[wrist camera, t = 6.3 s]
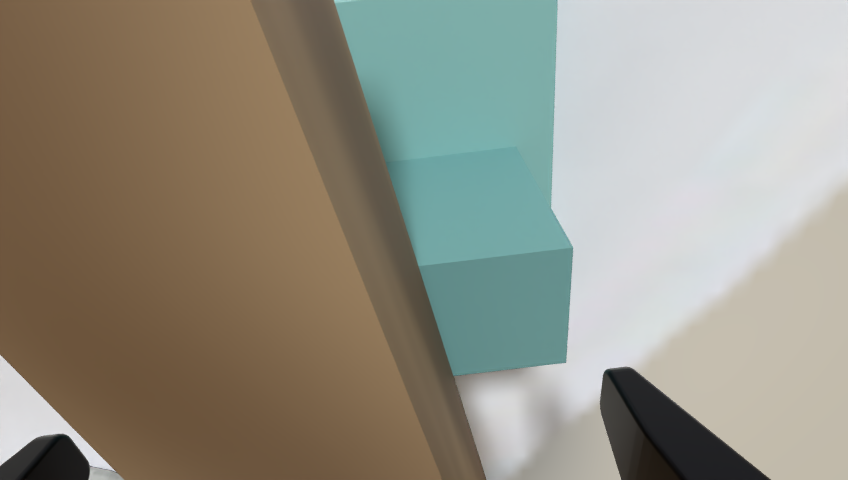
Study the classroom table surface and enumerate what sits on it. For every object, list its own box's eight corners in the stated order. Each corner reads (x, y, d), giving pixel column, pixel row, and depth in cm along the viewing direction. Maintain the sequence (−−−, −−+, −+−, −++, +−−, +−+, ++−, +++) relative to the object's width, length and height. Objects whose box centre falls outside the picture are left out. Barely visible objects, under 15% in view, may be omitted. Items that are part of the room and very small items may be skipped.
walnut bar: (232, -316, 5) (-51, -753, 2) (506, 542, 15) (540, 725, 11) (-64, -213, 6) (-775, -427, 2) (391, 563, 15) (391, 749, 12)
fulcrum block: (546, -29, 12) (657, 5, 7) (539, 315, 18) (597, 467, 13) (99, 28, 12) (-103, 100, 7) (236, 351, 18) (177, 516, 13)
